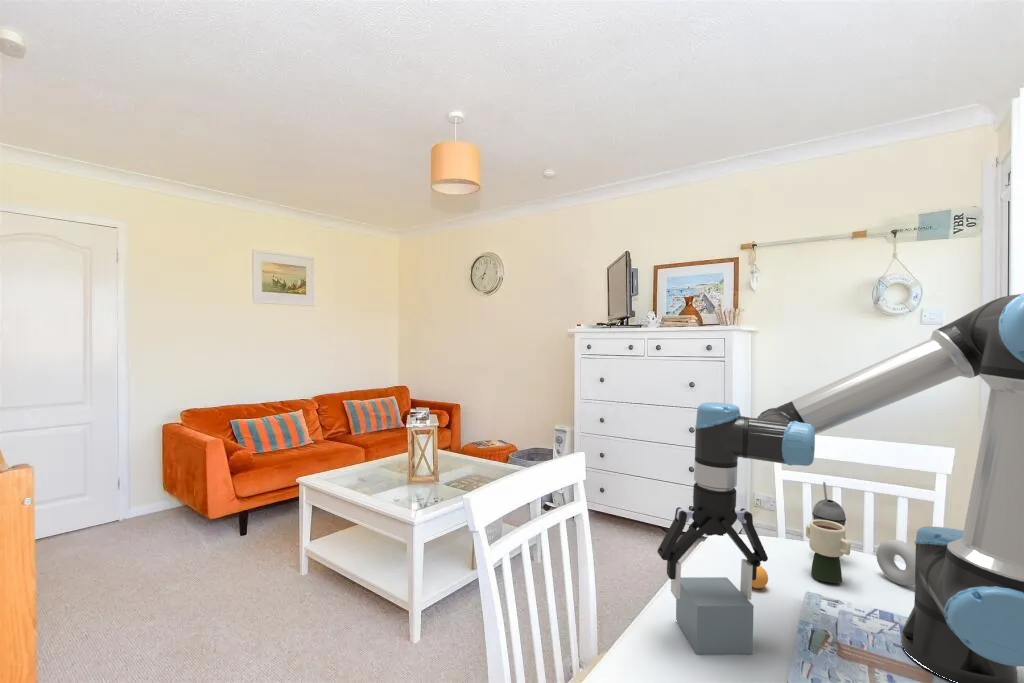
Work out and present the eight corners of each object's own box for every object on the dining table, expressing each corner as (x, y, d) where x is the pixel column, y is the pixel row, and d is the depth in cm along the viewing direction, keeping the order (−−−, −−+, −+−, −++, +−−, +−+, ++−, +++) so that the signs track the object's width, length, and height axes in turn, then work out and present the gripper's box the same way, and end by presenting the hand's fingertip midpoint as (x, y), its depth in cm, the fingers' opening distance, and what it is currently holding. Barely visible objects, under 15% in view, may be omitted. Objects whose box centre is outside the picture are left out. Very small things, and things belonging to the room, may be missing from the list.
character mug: (860, 588, 111) (861, 532, 111) (837, 593, 108) (838, 535, 108) (816, 566, 121) (817, 514, 121) (794, 570, 119) (795, 518, 119)
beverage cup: (844, 570, 119) (846, 489, 119) (809, 561, 124) (811, 483, 123) (846, 559, 125) (847, 482, 125) (812, 551, 129) (814, 477, 129)
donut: (928, 593, 109) (929, 549, 109) (917, 595, 108) (918, 551, 108) (882, 572, 119) (883, 531, 118) (872, 574, 117) (873, 533, 117)
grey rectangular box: (726, 620, 98) (726, 577, 98) (752, 654, 87) (753, 605, 87) (675, 620, 97) (676, 577, 97) (696, 654, 87) (697, 606, 87)
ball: (772, 590, 110) (773, 568, 110) (757, 594, 108) (757, 572, 108) (753, 579, 114) (754, 558, 114) (738, 584, 112) (738, 562, 112)
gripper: (768, 480, 96) (764, 585, 97) (643, 477, 95) (639, 584, 96) (791, 492, 89) (786, 607, 89) (656, 490, 88) (651, 605, 88)
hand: (710, 595), depth 93 cm, fingers open, 13 cm apart
